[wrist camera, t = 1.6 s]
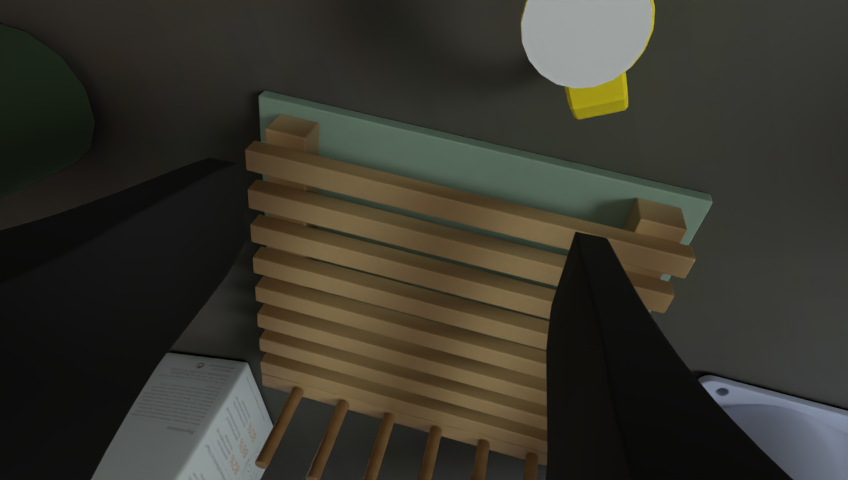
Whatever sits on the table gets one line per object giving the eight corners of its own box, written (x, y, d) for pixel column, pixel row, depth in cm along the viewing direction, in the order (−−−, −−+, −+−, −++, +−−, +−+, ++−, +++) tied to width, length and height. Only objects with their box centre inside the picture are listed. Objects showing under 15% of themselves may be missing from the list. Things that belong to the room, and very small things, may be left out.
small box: (167, 348, 33) (30, 520, 25) (251, 359, 32) (136, 544, 23) (207, 428, 38) (104, 596, 29) (281, 441, 36) (195, 619, 28)
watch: (643, 63, 17) (667, 147, 13) (555, 82, 18) (547, 167, 14) (620, -158, 14) (641, -154, 10) (516, -120, 15) (490, -99, 11)
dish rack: (710, 193, 19) (762, 333, 14) (579, 428, 29) (579, 568, 23) (264, 89, 21) (154, 179, 16) (276, 344, 30) (209, 457, 25)
